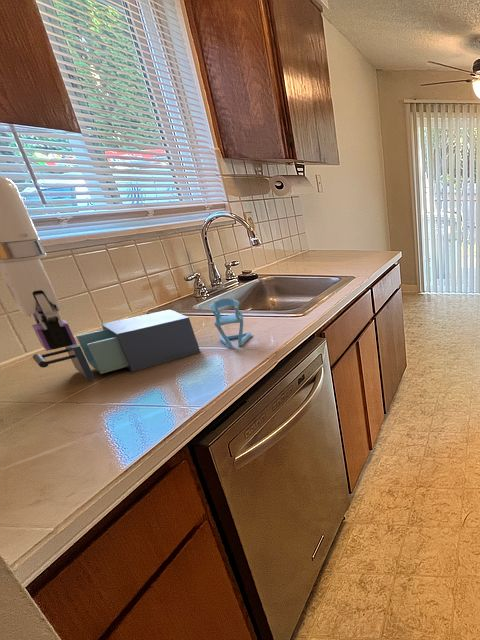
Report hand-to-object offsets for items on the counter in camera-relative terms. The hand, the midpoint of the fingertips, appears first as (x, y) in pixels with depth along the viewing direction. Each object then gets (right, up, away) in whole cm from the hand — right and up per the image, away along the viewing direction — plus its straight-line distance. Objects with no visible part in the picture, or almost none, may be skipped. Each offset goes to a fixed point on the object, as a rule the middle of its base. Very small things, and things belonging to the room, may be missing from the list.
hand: (58, 343), depth 80 cm
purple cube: (0, 0, 0) cm, 0 cm away
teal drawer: (-6, -5, +15) cm, 17 cm away
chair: (+16, +1, +32) cm, 36 cm away
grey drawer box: (+1, -2, +24) cm, 24 cm away
